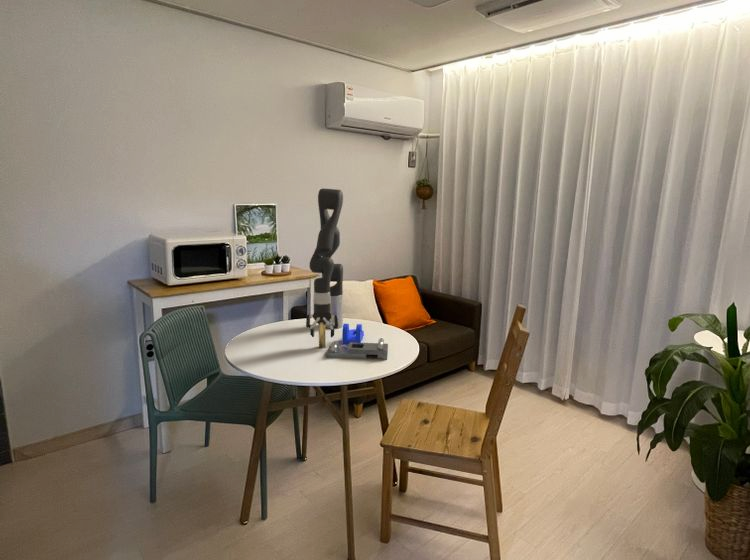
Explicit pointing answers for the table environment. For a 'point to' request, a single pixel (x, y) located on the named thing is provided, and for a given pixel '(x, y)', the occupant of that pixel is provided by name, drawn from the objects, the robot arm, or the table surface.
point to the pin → (321, 335)
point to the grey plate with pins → (358, 350)
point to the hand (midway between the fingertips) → (322, 336)
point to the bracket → (352, 334)
